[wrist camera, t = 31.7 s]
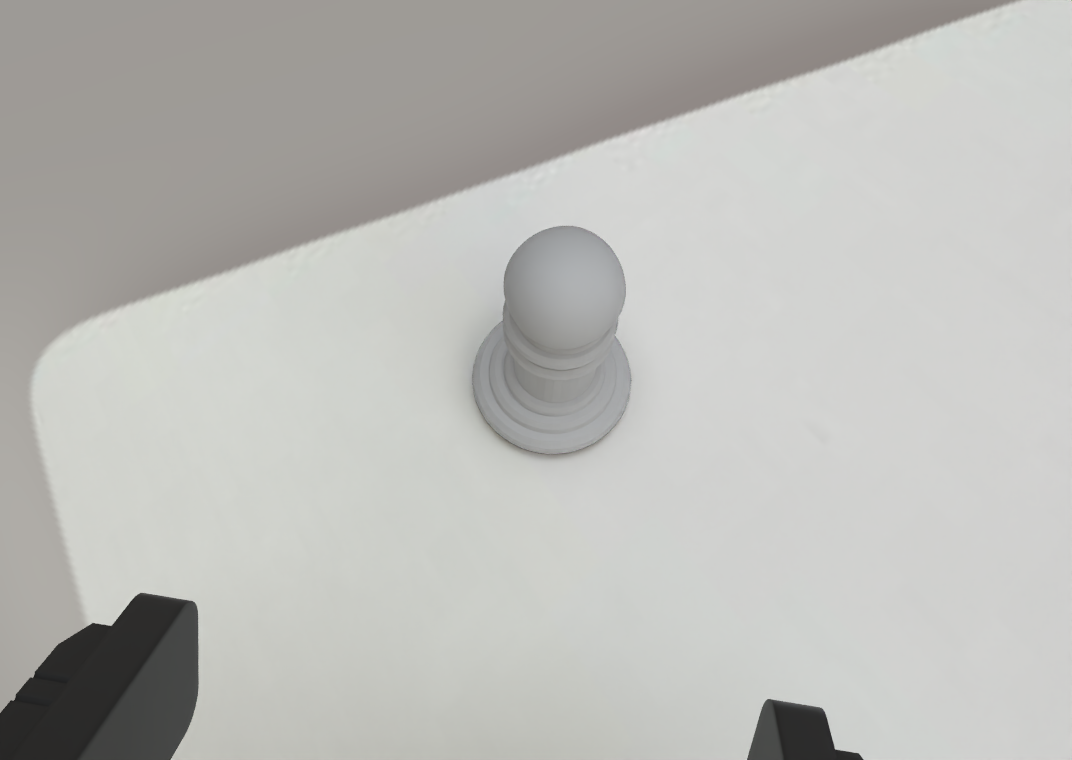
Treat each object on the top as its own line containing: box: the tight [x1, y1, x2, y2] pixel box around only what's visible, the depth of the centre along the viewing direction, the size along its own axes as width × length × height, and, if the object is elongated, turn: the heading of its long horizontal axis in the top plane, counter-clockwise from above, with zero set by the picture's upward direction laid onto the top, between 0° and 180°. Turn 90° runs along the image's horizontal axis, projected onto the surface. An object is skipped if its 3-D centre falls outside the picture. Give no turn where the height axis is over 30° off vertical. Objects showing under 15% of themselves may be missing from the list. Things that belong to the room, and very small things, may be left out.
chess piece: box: [473, 226, 631, 454], centre depth 29 cm, size 5×5×9 cm
